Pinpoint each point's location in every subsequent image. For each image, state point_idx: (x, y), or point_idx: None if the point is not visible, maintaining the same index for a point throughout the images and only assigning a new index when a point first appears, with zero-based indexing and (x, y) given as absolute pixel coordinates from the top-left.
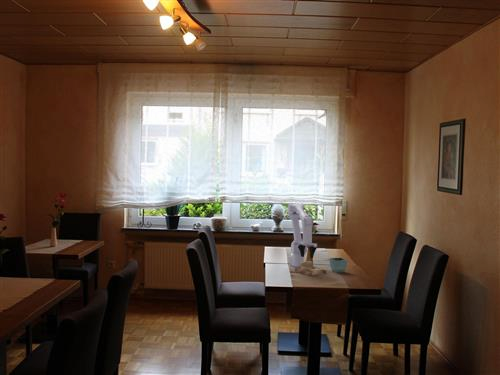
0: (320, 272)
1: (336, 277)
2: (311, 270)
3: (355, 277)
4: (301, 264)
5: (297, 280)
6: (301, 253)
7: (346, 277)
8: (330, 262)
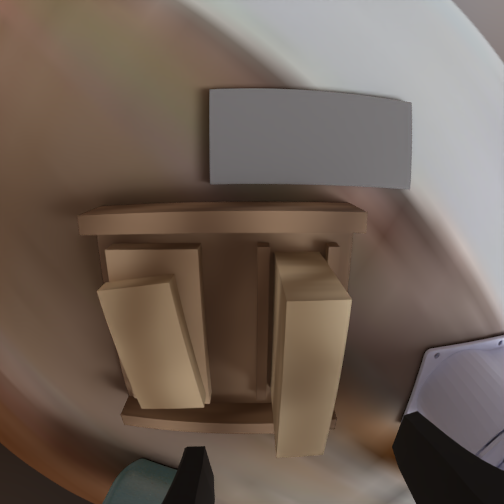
0: None
1: (50, 386)
2: (140, 293)
3: (38, 446)
4: (307, 288)
5: (97, 19)
6: (434, 451)
7: (42, 422)
8: None
